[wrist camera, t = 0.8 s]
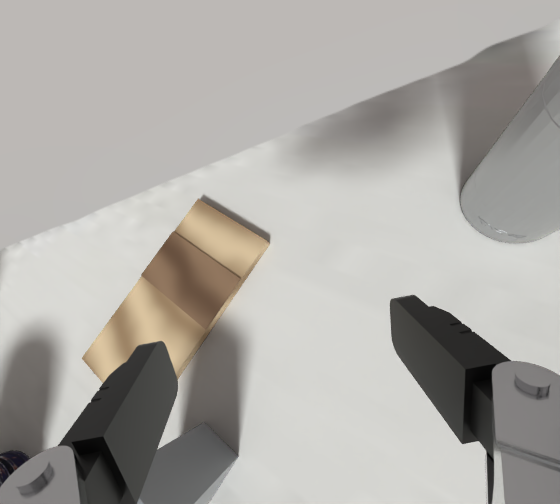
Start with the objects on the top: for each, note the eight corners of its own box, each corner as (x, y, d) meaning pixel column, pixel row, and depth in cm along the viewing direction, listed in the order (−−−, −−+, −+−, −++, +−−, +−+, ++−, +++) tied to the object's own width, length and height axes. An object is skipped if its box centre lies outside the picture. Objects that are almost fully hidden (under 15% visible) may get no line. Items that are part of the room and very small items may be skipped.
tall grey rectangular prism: (203, 420, 30) (117, 469, 19) (238, 456, 29) (166, 533, 17) (176, 461, 30) (71, 536, 19) (210, 500, 28) (117, 609, 17)
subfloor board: (202, 202, 39) (197, 198, 37) (269, 243, 34) (266, 240, 33) (90, 357, 36) (80, 358, 35) (147, 423, 32) (139, 426, 31)
